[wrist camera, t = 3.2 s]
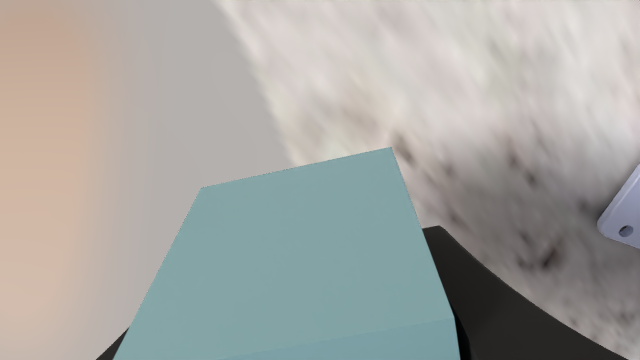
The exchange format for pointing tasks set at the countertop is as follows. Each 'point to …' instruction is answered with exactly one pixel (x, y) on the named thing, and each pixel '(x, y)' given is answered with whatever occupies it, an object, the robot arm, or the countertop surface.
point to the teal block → (299, 272)
